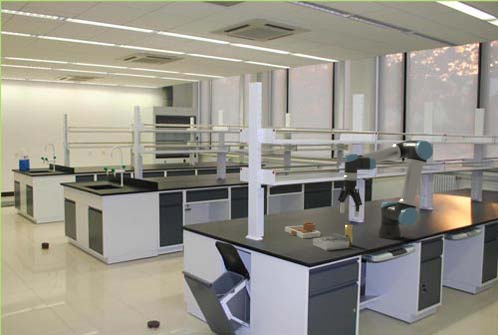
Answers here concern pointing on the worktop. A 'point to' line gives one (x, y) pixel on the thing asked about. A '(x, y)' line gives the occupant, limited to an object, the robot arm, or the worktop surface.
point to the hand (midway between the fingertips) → (349, 214)
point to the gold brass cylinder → (349, 233)
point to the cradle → (302, 235)
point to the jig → (332, 242)
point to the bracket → (304, 228)
